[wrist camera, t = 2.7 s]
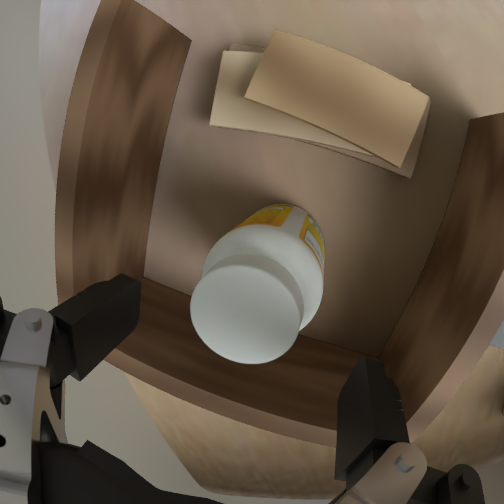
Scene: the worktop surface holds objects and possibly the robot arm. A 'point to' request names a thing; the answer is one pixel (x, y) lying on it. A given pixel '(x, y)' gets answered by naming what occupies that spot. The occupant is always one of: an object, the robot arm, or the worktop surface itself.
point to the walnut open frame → (178, 304)
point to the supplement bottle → (260, 285)
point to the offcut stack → (321, 101)
